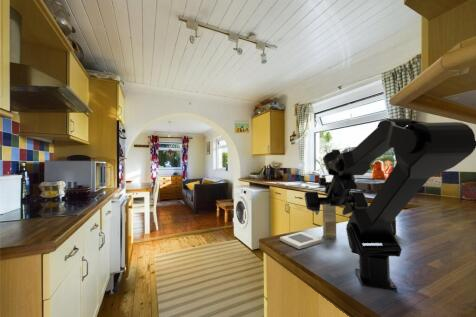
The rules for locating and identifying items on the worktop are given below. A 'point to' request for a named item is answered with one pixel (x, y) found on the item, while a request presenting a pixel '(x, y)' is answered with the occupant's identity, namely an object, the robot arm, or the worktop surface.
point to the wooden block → (329, 221)
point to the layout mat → (301, 240)
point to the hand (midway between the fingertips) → (329, 213)
